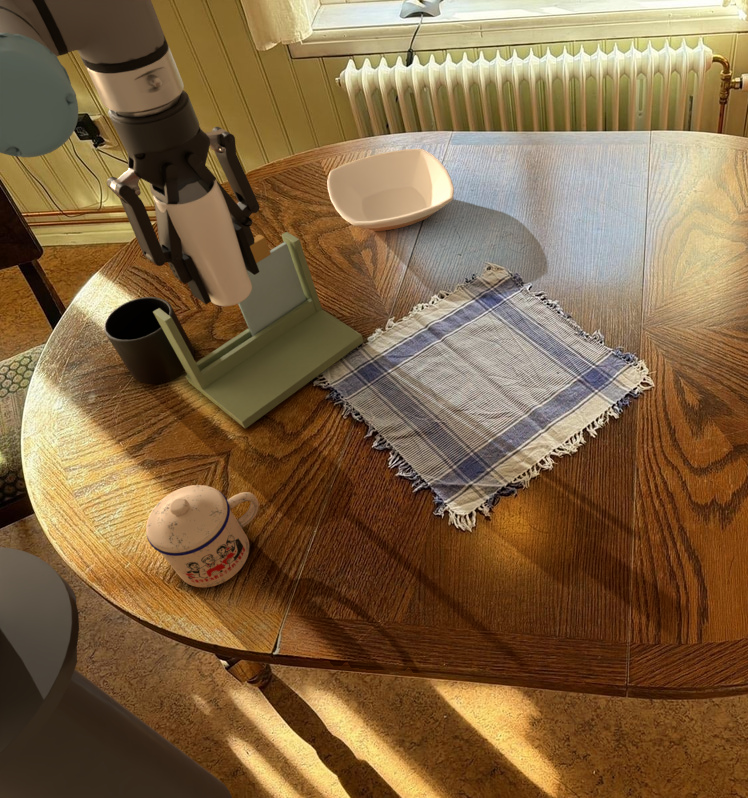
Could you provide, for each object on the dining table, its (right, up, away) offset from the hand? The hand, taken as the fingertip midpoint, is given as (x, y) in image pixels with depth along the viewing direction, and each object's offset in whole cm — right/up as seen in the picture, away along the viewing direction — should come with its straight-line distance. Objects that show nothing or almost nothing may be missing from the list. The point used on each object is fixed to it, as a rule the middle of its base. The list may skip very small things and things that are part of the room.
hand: (226, 283), depth 89 cm
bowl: (+11, +21, +48) cm, 54 cm away
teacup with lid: (-1, -33, +2) cm, 33 cm away
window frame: (-2, -8, +23) cm, 25 cm away
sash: (-2, -3, +26) cm, 26 cm away
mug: (-20, -8, +24) cm, 33 cm away
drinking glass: (0, -1, +1) cm, 2 cm away
